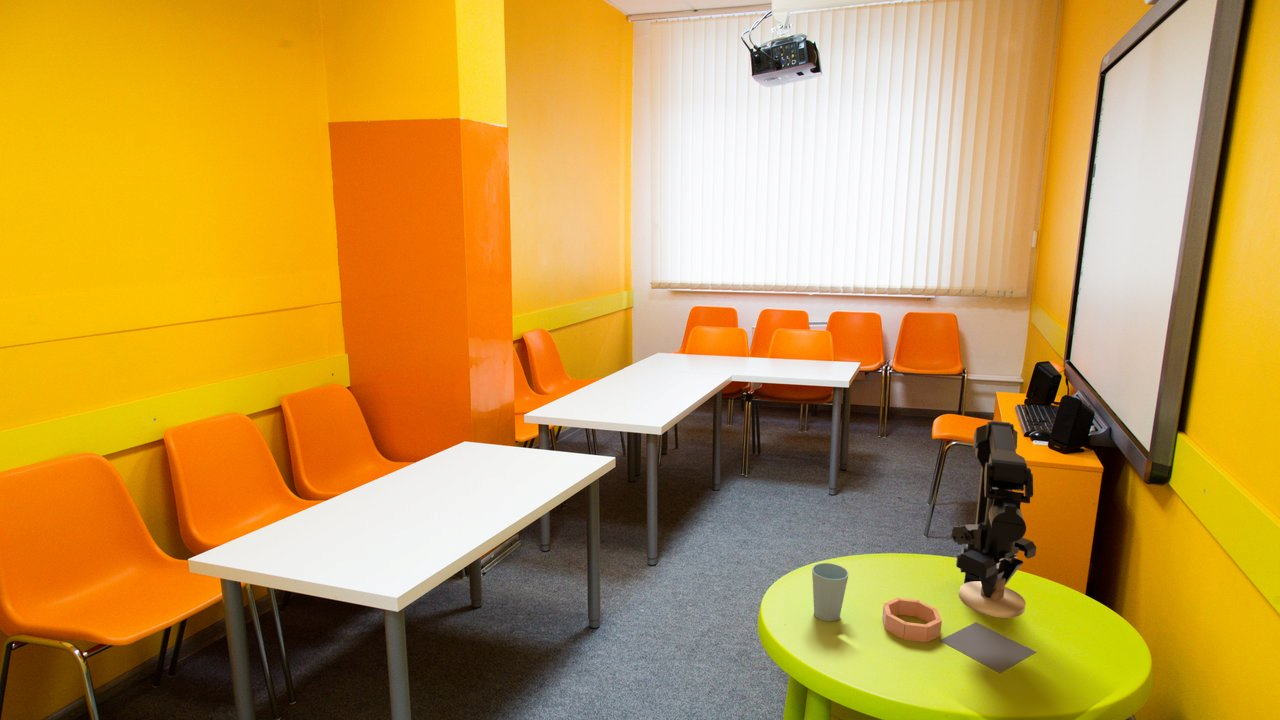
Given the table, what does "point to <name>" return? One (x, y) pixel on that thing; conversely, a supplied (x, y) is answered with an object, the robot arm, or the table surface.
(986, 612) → the lid
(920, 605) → the ring
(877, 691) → the table surface
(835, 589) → the cup
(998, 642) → the mat
